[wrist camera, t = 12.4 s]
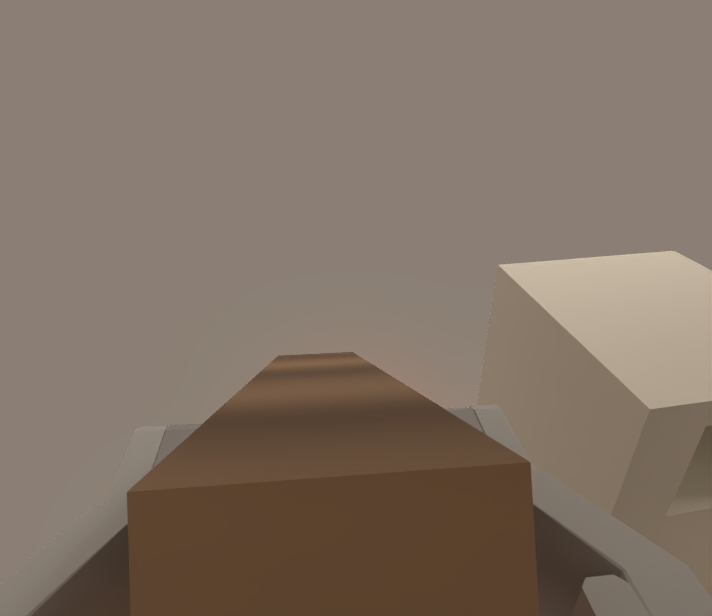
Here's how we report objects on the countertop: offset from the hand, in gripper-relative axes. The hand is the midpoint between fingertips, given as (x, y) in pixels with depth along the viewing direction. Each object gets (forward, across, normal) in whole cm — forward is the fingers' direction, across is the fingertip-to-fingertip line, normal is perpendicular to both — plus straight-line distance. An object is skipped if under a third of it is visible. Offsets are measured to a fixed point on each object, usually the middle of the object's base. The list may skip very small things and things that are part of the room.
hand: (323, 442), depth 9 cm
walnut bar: (+2, 0, +4) cm, 5 cm away
